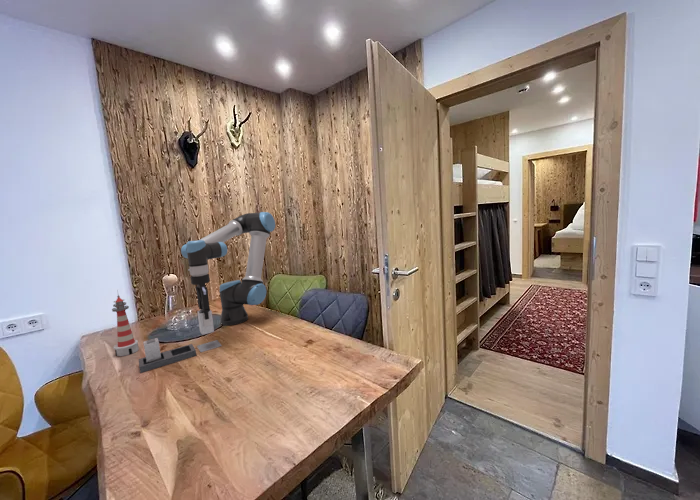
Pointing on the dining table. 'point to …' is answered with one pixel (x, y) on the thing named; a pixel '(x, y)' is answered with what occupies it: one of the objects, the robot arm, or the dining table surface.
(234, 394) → the dining table surface
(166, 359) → the rail
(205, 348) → the mat
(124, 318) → the miniature lighthouse
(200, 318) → the grey square peg
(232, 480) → the dining table surface
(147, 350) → the silver square post
